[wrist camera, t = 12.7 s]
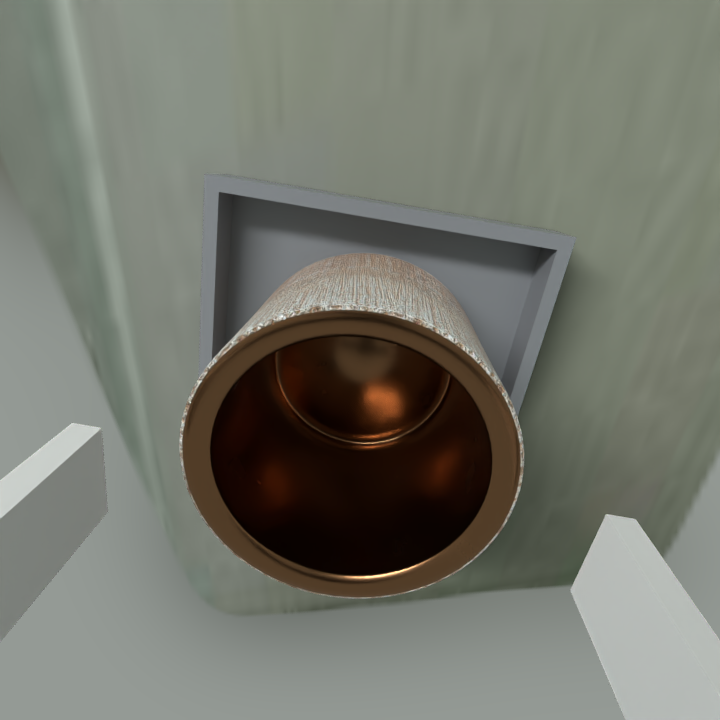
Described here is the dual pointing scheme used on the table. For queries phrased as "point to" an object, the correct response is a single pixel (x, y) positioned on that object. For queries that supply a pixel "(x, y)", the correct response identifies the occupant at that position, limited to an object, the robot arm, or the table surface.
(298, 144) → the table surface
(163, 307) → the table surface
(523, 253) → the tray
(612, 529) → the robot arm
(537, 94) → the table surface
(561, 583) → the table surface
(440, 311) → the planter
